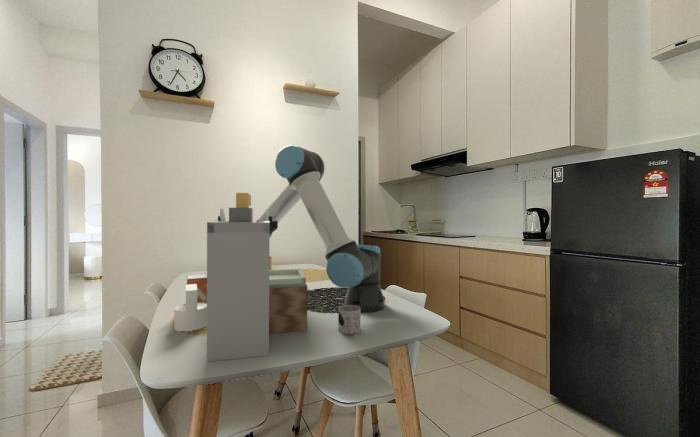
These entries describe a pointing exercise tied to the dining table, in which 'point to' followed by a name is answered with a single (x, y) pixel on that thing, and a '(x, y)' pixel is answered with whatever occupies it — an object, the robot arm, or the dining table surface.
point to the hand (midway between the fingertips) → (244, 212)
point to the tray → (286, 278)
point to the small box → (199, 286)
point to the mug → (349, 319)
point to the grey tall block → (237, 290)
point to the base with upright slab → (190, 312)
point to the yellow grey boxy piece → (241, 209)
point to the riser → (287, 309)
